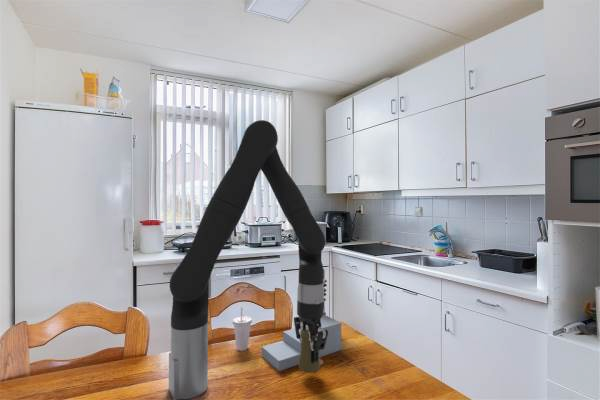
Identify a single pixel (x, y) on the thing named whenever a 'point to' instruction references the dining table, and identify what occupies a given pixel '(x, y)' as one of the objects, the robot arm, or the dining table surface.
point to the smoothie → (242, 331)
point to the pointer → (320, 361)
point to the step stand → (290, 347)
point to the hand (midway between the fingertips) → (309, 359)
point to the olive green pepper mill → (307, 354)
